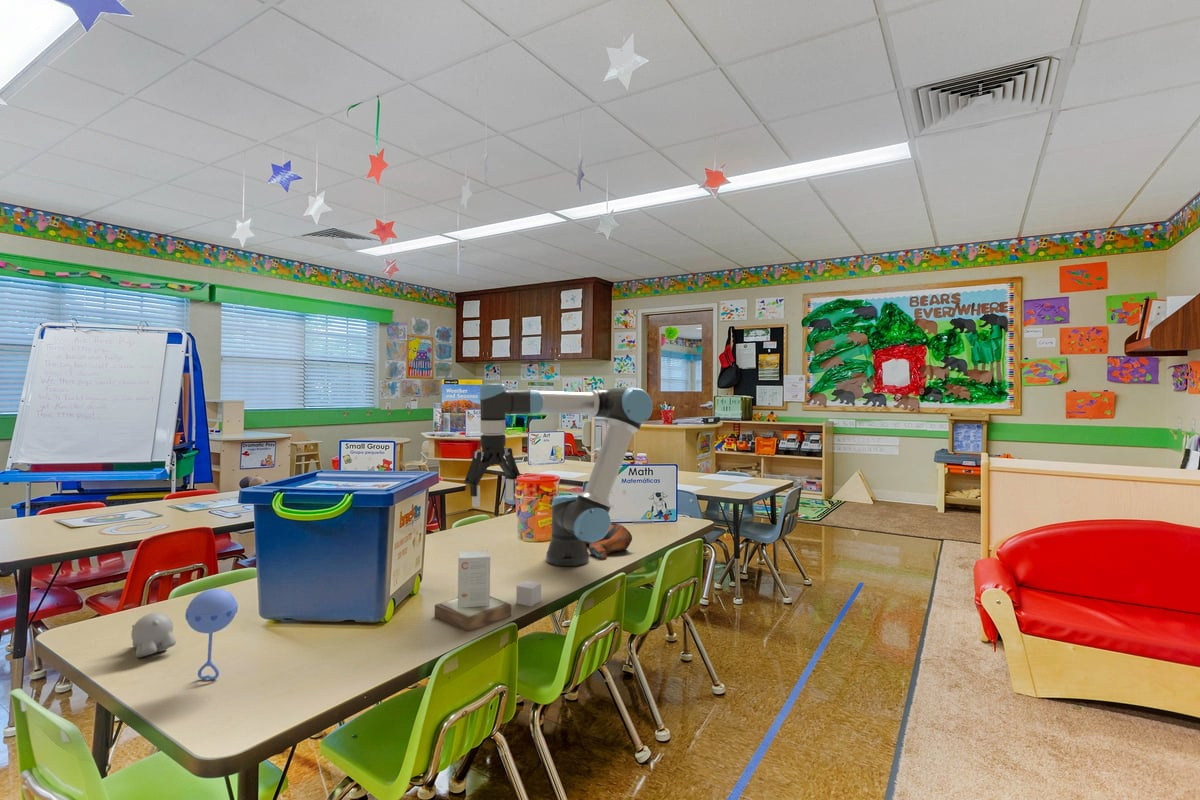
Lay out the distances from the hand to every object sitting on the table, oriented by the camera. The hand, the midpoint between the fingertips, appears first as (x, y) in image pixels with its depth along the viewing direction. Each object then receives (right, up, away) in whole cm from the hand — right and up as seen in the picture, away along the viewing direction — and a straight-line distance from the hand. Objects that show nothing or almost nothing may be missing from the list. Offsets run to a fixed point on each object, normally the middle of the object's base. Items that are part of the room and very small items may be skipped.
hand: (493, 503), depth 175 cm
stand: (-1, -25, -25) cm, 35 cm away
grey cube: (+12, -25, -14) cm, 31 cm away
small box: (-1, -22, -25) cm, 33 cm away
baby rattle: (-45, -25, -60) cm, 79 cm away
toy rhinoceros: (-67, -24, -49) cm, 86 cm away
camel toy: (+31, -26, +44) cm, 59 cm away
